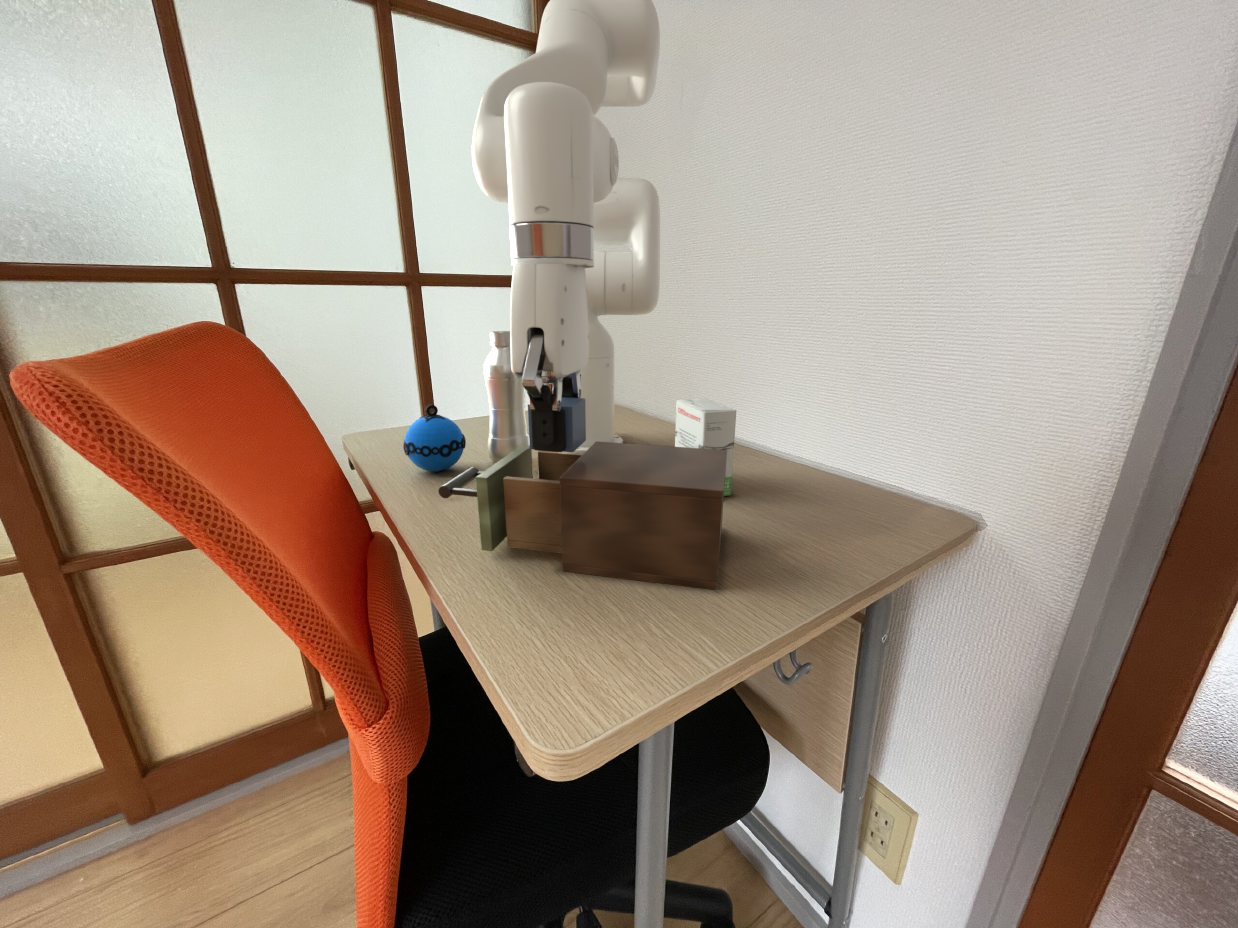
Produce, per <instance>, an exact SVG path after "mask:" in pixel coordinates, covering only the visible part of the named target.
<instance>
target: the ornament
mask: <svg viewBox="0 0 1238 928" xmlns="http://www.w3.org/2000/svg"><path fill="white" fill-rule="evenodd" d="M431 409H433V411H432V412H431V411H430V410H431ZM424 412H425V414H426V415H423V416H420V417H419V418H418V419H416V420H415V421H413V422H412V423H411V424H410V426H409V427H408V429H407V431H406V433H405V436H404V439H403V445H402V446H403V451H404V454H405V456H407V457H408V459H409V460H410V461H411V462H412V463H413V464H414V466H416V467H418V468H419V469H420V470H421V469H422V470H423V471H427V472H433V473H439V472H443V471H446V470H448V469H450V468H452V467H454V465H456V464H457V463H458V462H459V460H460V459H461V457H462V455H463V453H464V450H465V448H466V445H467V444H466V443H467V442H466V436H465V434H464V433H463V432H462V430H461V429H460V427H459V426H458V424H457V423H456V422H454V421H453V420H452V419H450V418H449V417H447V416H443V415H440V414H438V412H439V409H438V407H437V406H436V405H435V404H428V405H426V406H425V409H424Z"/></svg>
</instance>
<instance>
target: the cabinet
mask: <svg viewBox="0 0 1238 928" xmlns="http://www.w3.org/2000/svg"><path fill="white" fill-rule="evenodd" d="M726 462H727V450H716V449H701V448H686V447H675V446H671V445H657V444H656V445H655V444H654V445H653V444H643V443H642V444H639V443H628V442H627V443H626V442H625V443H624V442H623V443H612V442H597V441H596V442H595V443H594V444H593V445H592V446H591V447H590V448H589V449H588V450H587V451H586V452H585V453H584V454H583V455H582V456H581V457H580V458H579V459H578V460H577V461H576V462H575V463H574V464H573V465H572V466H571V467H570V468H569V469H568V470H567V471H566V472H565V473H564V474H563V475H562V476H561V477H560V503H561V537H562V553H561V563H562V565H561V566H562V568H561V569H562V572H567V573H576V574H584V575H591V576H592V575H593V576H599V577H608V578H609V577H610V578H617V579H624V580H633V581H640V582H641V581H642V582H650V583H658V584H667V585H675V586H682V587H691V588H699V589H707V590H715V591H716V590H717V582H718V573H719V562H720V550H721V540H722V529H723V517H724V516H723V515H724V514H723V513H724V501H725V496H724V489H725V476H726Z"/></svg>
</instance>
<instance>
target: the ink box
mask: <svg viewBox="0 0 1238 928" xmlns="http://www.w3.org/2000/svg"><path fill="white" fill-rule="evenodd" d="M675 406H676V407H675V409H676V410H675V433H674V434H675V435H674V447H686V448H701V449H716V450H727V462H726V476H725V489H724V497H727V496H731V495H732V487H733V486H732V484H733V468H734V452H735V440H736V439H735V438H736V437H735V436H736V424H737V423H736V422H737V409H734V408H732V407H730V406H727V405H724V404H722V403H719V402H716V401H714V400H711V399H710V398H684V399H683V398H682V399H678V400H676V404H675Z"/></svg>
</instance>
